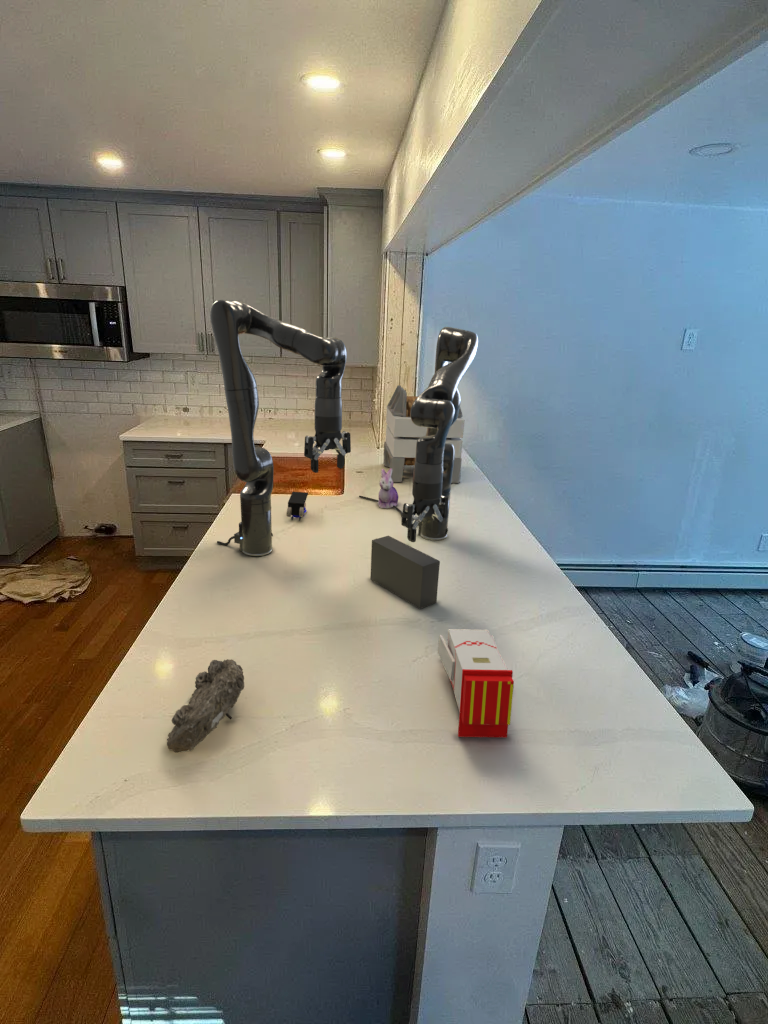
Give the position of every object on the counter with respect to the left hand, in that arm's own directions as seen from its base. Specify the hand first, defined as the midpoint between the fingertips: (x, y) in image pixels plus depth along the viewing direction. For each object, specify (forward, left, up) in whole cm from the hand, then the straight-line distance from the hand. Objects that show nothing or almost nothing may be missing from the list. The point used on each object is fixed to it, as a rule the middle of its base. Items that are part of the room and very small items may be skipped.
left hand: (327, 470), depth 162 cm
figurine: (-6, +62, -31) cm, 69 cm away
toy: (+55, -39, -31) cm, 74 cm away
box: (+26, -3, -31) cm, 40 cm away
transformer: (-12, +114, -31) cm, 118 cm away
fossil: (+13, -68, -31) cm, 76 cm away
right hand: (+32, -6, -12) cm, 35 cm away
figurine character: (-31, +33, -31) cm, 55 cm away
